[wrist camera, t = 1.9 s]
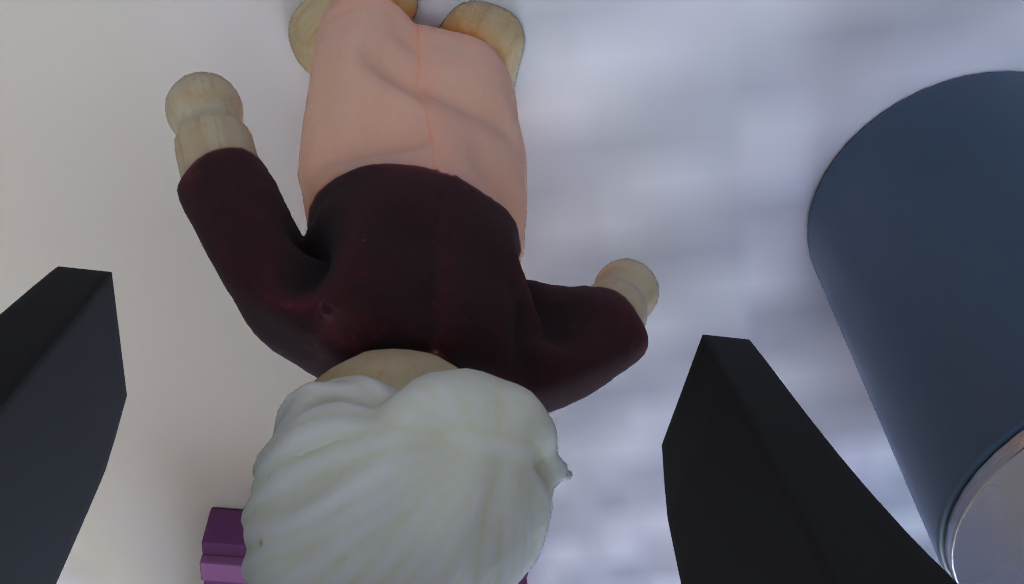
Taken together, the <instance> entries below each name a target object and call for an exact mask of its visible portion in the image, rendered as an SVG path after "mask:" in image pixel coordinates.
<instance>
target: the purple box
mask: <svg viewBox="0 0 1024 584" xmlns="http://www.w3.org/2000/svg"><path fill="white" fill-rule="evenodd" d="M242 512H243V511H242V510H230V509H218V508H212V509H211V511H210V514H209V518H208V522H207V525H206V529H205V533H204V536H203V540H202V551H203V555H202V557H201V561H200V570H201V580H204V583H205V584H247V582H246V581H245V579H244V578H243V576H242V573H241V566H242V562H243V560H244V557H245V554H246V550H247V547H246V545H245V543H244V537H243V530H244V529H243V526H242V523H241V516H242ZM527 575H528V572H527V573H526V575H525V576H524V577H523V578H522V580H521V581H520V582H519V583H518V584H527V580H526V579H527Z"/></svg>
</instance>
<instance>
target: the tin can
mask: <svg viewBox="0 0 1024 584" xmlns="http://www.w3.org/2000/svg"><path fill="white" fill-rule="evenodd" d="M808 246H809V253H810V257H811V260H812V263H813V266H814V269H815V271H816V273H817V276H818V278H819V280H820V283H821V285H822V287H823V290H824V292H825V294H826V297H827V299H828V301H829V304H830V306H831V308H832V311H833V313H834V315H835V318H836V320H837V322H838V325H839V327H840V329H841V332H842V334H843V336H844V339H845V341H846V343H847V346H848V348H849V350H850V353H851V355H852V357H853V360H854V362H855V364H856V367H857V369H858V371H859V374H860V376H861V378H862V381H863V383H864V386H865V388H866V390H867V393H868V395H869V397H870V400H871V402H872V404H873V407H874V409H875V411H876V414H877V416H878V418H879V421H880V423H881V425H882V428H883V430H884V432H885V435H886V437H887V439H888V442H889V444H890V446H891V449H892V451H893V453H894V456H895V458H896V460H897V463H898V465H899V467H900V470H901V472H902V474H903V477H904V479H905V481H906V484H907V486H908V488H909V491H910V493H911V495H912V498H913V500H914V502H915V505H916V507H917V509H918V512H919V514H920V516H921V519H922V521H923V523H924V526H925V528H926V530H927V533H928V535H929V537H930V540H931V542H932V544H933V547H934V549H935V551H936V554H937V556H938V558H939V561H940V563H941V565H942V567H943V568H944V570H945V571H946V572H947V573H948V574H949V575H950V576H951V577H952V578H953V579H954V580H955V581H956V582H957V583H958V584H1024V73H1023V72H1010V71H1009V72H988V73H982V74H975V75H969V76H964V77H961V78H957V79H953V80H950V81H946V82H943V83H940V84H938V85H935V86H932V87H930V88H927V89H925V90H922V91H920V92H918V93H916V94H914V95H912V96H910V97H908V98H906V99H904V100H902V101H900V102H899V103H897V104H896V105H894V106H893V107H891V108H889V109H888V110H886V111H885V112H883V113H882V114H880V115H879V116H878V117H877V118H875V119H874V120H873V121H871V122H870V123H869V124H868V125H866V126H865V127H864V128H863V129H862V130H861V131H860V132H859V133H858V134H857V135H856V136H855V137H854V138H853V139H851V140H850V141H849V142H848V144H847V145H846V146H845V147H844V148H843V150H842V151H841V152H840V153H839V154H838V156H837V157H836V158H835V160H834V161H833V163H832V164H831V166H830V167H829V169H828V170H827V172H826V173H825V175H824V177H823V179H822V181H821V183H820V185H819V187H818V189H817V192H816V195H815V198H814V201H813V204H812V206H811V211H810V216H809V222H808Z"/></svg>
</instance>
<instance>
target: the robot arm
mask: <svg viewBox="0 0 1024 584" xmlns="http://www.w3.org/2000/svg"><path fill="white" fill-rule="evenodd" d="M126 397H127V393H126V385H125V377H124V368H123V360H122V352H121V344H120V336H119V328H118V320H117V312H116V303H115V295H114V287H113V279H112V272H106V271H96V270H87V269H77V268H68V267H57V268H55V269H54V270H53V271H51V272H50V273H49V274H48V275H46V276H45V277H44V278H43V279H42V280H40V281H39V282H38V283H37V284H35V285H34V286H33V287H32V288H31V289H30V290H28V291H27V292H26V293H25V294H24V295H23V296H21V297H20V298H19V299H18V300H17V301H15V302H14V303H13V304H12V305H11V306H10V307H8V308H7V309H6V310H5V311H4V312H3V313H1V314H0V584H56V583H57V580H58V578H59V576H60V574H61V571H62V569H63V567H64V565H65V562H66V560H67V558H68V555H69V553H70V551H71V549H72V546H73V544H74V542H75V540H76V537H77V535H78V533H79V531H80V528H81V526H82V524H83V521H84V519H85V517H86V514H87V512H88V510H89V507H90V505H91V503H92V501H93V498H94V496H95V494H96V491H97V489H98V487H99V484H100V482H101V479H102V477H103V475H104V472H105V470H106V466H107V463H108V460H109V456H110V453H111V450H112V447H113V443H114V440H115V437H116V433H117V429H118V426H119V422H120V418H121V415H122V411H123V408H124V404H125V400H126ZM662 453H663V468H664V483H665V494H666V505H667V516H668V522H669V527H670V532H671V537H672V542H673V547H674V551H675V556H676V561H677V566H678V571H679V575H680V580H681V584H958V583H957V582H956V581H955V580H954V579H953V578H952V577H951V576H950V575H949V574H948V573H947V572H946V571H945V570H944V569H943V568H942V567H941V566H940V565H938V564H937V563H936V562H935V561H934V560H933V559H932V558H931V557H930V556H929V555H928V554H927V553H926V552H925V551H924V550H923V549H922V548H921V547H920V546H919V545H918V544H917V543H916V541H915V540H914V539H913V538H912V537H911V536H910V535H909V534H908V533H907V532H906V531H905V530H904V529H903V528H902V527H901V525H900V524H899V523H898V522H897V521H896V520H895V519H894V518H893V517H892V516H891V514H890V513H889V512H888V511H887V510H886V509H885V508H884V507H883V506H882V505H881V503H880V502H879V501H878V500H877V499H876V498H875V497H874V496H873V495H872V493H871V492H870V491H869V490H868V489H867V488H866V486H865V485H864V484H863V483H862V482H861V481H860V479H859V478H858V477H857V476H856V475H855V474H854V473H853V471H852V470H851V469H850V468H849V466H848V465H847V464H846V463H845V462H844V460H843V459H842V458H841V457H840V456H839V454H838V453H837V452H836V451H835V449H834V448H833V447H832V446H831V445H830V443H829V442H828V441H827V440H826V438H825V437H824V436H823V435H822V433H821V432H820V431H819V429H818V428H817V427H816V426H815V424H814V423H813V422H812V421H811V419H810V418H809V417H808V415H807V414H806V413H805V411H804V410H803V409H802V408H801V406H800V405H799V404H798V402H797V401H796V400H795V398H794V397H793V396H792V395H791V393H790V392H789V391H788V389H787V388H786V387H785V385H784V384H783V383H782V381H781V380H780V379H779V377H778V376H777V375H776V373H775V372H774V371H773V370H772V368H771V367H770V366H769V364H768V363H767V362H766V360H765V359H764V358H763V356H762V355H761V354H760V353H759V351H758V350H757V349H756V347H755V346H754V345H753V344H752V342H751V341H750V340H748V339H739V338H729V337H720V336H711V335H702V338H701V341H700V343H699V346H698V349H697V351H696V354H695V357H694V359H693V362H692V365H691V368H690V370H689V373H688V376H687V378H686V381H685V384H684V387H683V389H682V392H681V395H680V397H679V400H678V403H677V405H676V408H675V411H674V414H673V416H672V419H671V422H670V424H669V427H668V430H667V433H666V435H665V438H664V441H663V443H662Z"/></svg>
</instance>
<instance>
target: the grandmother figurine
mask: <svg viewBox="0 0 1024 584" xmlns="http://www.w3.org/2000/svg"><path fill="white" fill-rule="evenodd" d="M417 8H418V0H304V1H303V2H302V3H301V4H300V6H299V7H298V8H297V9H296V11H295V12H294V14H293V15H292V17H291V20H290V23H289V41H290V45H291V48H292V50H293V53H294V55H295V57H296V59H297V61H298V62H299V63H300V65H301V66H302V67H303V68H304V69H305V70H306V71H307V72H308V73H309V74H310V82H309V89H308V95H307V102H306V108H305V113H304V119H303V126H302V136H301V145H300V153H299V168H298V179H299V183H300V186H301V191H302V196H303V202H304V209H305V216H306V219H307V227H308V229H307V232H306V234H305V236H302V235H301V233H300V231H299V229H298V227H297V225H296V224H295V222H294V220H293V218H292V216H291V214H290V211H289V209H288V207H287V205H286V203H285V202H284V199H283V197H282V195H281V193H280V191H279V189H278V186H277V183H276V182H275V180H274V179H273V177H272V176H271V175H270V173H269V172H268V169H267V168H266V166H265V165H264V164H263V162H262V161H261V160H260V159H259V157H258V155H257V153H256V149H255V146H254V142H253V138H252V135H251V133H250V131H249V130H248V128H247V127H246V126H245V125H244V124H243V105H242V101H241V99H240V96H239V94H238V92H237V91H236V89H235V88H234V87H233V86H232V84H231V83H230V82H229V81H227V80H226V79H224V78H223V77H221V76H219V75H217V74H214V73H208V72H195V73H192V74H188V75H185V76H183V77H182V78H181V79H179V80H178V81H177V82H176V83H175V84H174V85H173V86H172V88H171V89H170V91H169V93H168V95H167V97H166V103H165V112H166V116H167V121H168V123H169V125H170V127H171V129H172V130H173V132H174V133H175V135H176V137H175V153H176V159H177V163H178V168H179V172H180V177H181V180H180V182H179V185H178V189H177V192H178V196H179V200H180V203H181V205H182V207H183V209H184V212H185V213H186V215H187V217H188V219H189V220H190V222H191V224H192V225H193V227H194V229H195V231H196V233H197V235H198V237H199V239H200V241H201V243H202V245H203V247H204V249H205V251H206V253H207V255H208V257H209V259H210V261H211V262H212V264H213V266H214V267H215V269H216V271H217V273H218V275H219V277H220V279H221V280H222V282H223V284H224V286H225V287H226V289H227V291H228V292H229V294H230V295H231V296H232V298H233V300H234V302H235V303H236V305H237V307H238V309H239V311H240V313H241V314H242V316H243V318H244V320H245V321H246V323H247V324H248V326H249V327H250V328H251V329H252V331H253V333H254V334H255V335H256V336H257V337H258V338H259V339H260V340H261V341H262V342H264V343H265V344H266V345H267V346H268V347H269V348H270V349H272V350H273V351H274V352H276V353H278V354H279V355H281V356H282V357H284V358H286V359H288V360H289V361H291V362H293V363H295V364H296V365H298V366H299V367H301V368H302V369H303V370H305V371H307V372H308V373H310V374H312V375H313V376H315V377H317V378H318V379H316V380H315V381H314V382H310V383H307V384H305V385H303V386H301V387H299V388H298V389H296V390H295V391H293V392H292V393H290V394H289V395H288V396H287V397H286V398H285V400H284V401H283V403H282V404H281V406H280V408H279V409H278V412H277V416H276V420H275V426H274V432H273V437H272V439H271V440H270V441H269V442H268V443H267V444H266V446H265V447H264V448H263V449H262V450H261V452H260V453H259V454H258V455H257V459H256V461H255V463H254V466H253V476H254V479H253V483H252V487H251V495H250V498H249V501H248V502H247V504H246V506H245V508H244V510H243V512H242V516H241V523H242V526H243V529H244V530H243V537H244V543H245V545H246V547H247V550H246V554H245V557H244V560H243V562H242V566H241V573H242V576H243V578H244V579H245V581H246V582H247V584H518V583H519V582H520V581H521V580H522V578H523V577H524V576H525V575H526V573H527V572H528V571H529V570H530V568H531V567H532V566H533V564H534V563H535V562H536V560H537V559H538V558H539V556H540V553H541V551H542V548H543V544H544V541H545V537H546V534H547V531H548V527H549V521H550V518H551V513H552V508H553V507H552V497H553V491H554V488H555V487H556V486H557V485H558V484H559V483H560V482H562V481H564V480H568V479H571V477H572V476H573V475H572V472H571V471H569V470H568V467H567V464H566V463H565V462H564V461H563V460H562V459H561V457H560V456H559V455H558V451H557V449H558V447H557V431H556V427H555V424H554V422H553V420H552V418H551V417H550V415H549V414H548V413H549V412H552V411H555V410H557V409H560V408H563V407H565V406H567V405H569V404H571V403H573V402H576V401H578V400H580V399H582V398H584V397H586V396H588V395H590V394H591V393H593V392H595V391H596V390H598V389H599V388H601V387H602V386H604V385H605V384H607V383H608V382H609V381H611V380H612V379H613V378H614V377H616V376H617V375H619V374H620V373H622V372H623V371H625V370H626V369H628V368H629V367H630V366H632V365H633V364H634V363H636V362H637V361H638V360H639V359H640V358H641V357H642V356H643V355H644V354H645V352H646V350H647V347H648V335H647V331H646V329H645V324H646V320H647V317H648V315H649V314H650V313H651V312H652V311H653V309H654V308H655V306H656V304H657V301H658V297H659V286H658V282H657V279H656V278H655V276H654V274H653V272H652V271H651V270H650V269H649V268H648V267H647V266H646V265H644V264H643V263H641V262H638V261H636V260H632V259H628V258H626V259H618V260H615V261H613V262H610V263H609V264H607V265H606V266H605V267H603V268H602V270H601V271H600V272H599V274H598V275H597V277H596V280H595V284H593V285H592V286H577V287H567V286H558V285H550V284H545V283H540V282H537V281H533V280H526V278H525V275H524V273H523V270H522V268H521V264H520V263H521V260H522V257H523V253H524V240H525V225H526V214H527V162H526V152H525V146H524V142H523V137H522V133H521V129H520V124H519V120H518V112H517V103H516V97H515V92H514V87H515V83H516V78H517V74H518V70H519V66H520V61H521V57H522V53H523V50H524V42H525V36H524V31H523V28H522V26H521V24H520V22H519V20H518V19H517V18H516V17H515V16H514V15H513V14H512V13H510V12H509V11H507V10H506V9H503V8H501V7H499V6H496V5H493V4H490V3H486V2H481V1H472V2H467V3H464V4H461V5H459V6H458V7H456V8H455V9H453V10H452V11H451V12H450V13H449V15H448V16H447V17H446V19H445V20H444V22H443V23H442V25H441V27H440V28H437V27H433V26H429V25H420V24H416V23H414V22H413V19H414V17H415V14H416V11H417Z"/></svg>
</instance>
